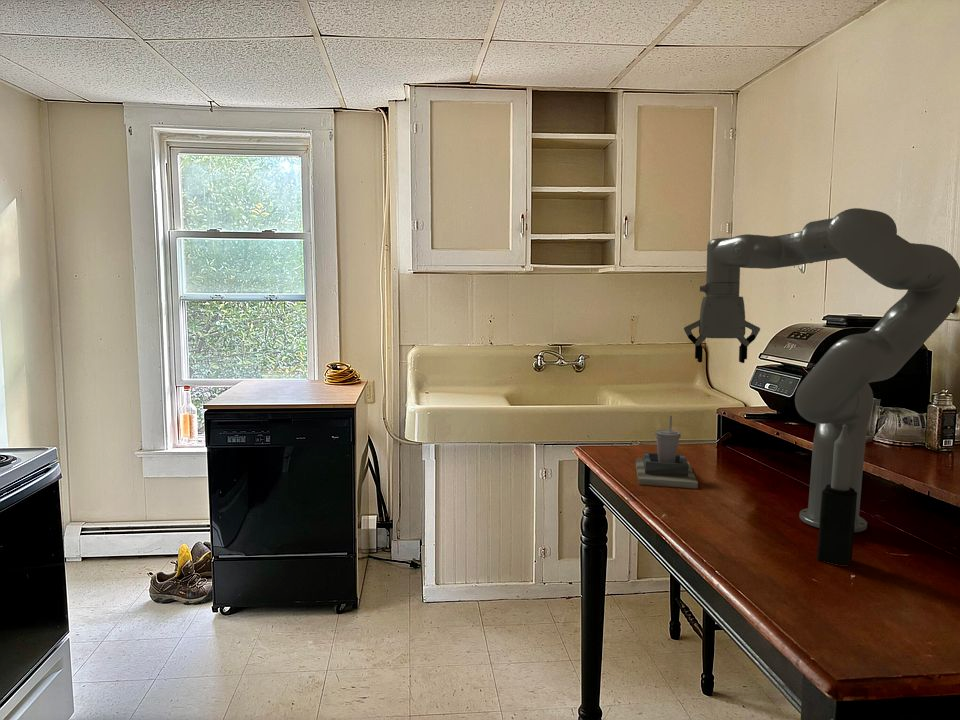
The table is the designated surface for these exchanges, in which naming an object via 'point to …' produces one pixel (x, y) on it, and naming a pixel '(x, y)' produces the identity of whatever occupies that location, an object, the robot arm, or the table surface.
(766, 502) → the table surface
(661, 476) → the holder
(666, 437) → the smoothie
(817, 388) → the robot arm
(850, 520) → the dark tall narrow piece
